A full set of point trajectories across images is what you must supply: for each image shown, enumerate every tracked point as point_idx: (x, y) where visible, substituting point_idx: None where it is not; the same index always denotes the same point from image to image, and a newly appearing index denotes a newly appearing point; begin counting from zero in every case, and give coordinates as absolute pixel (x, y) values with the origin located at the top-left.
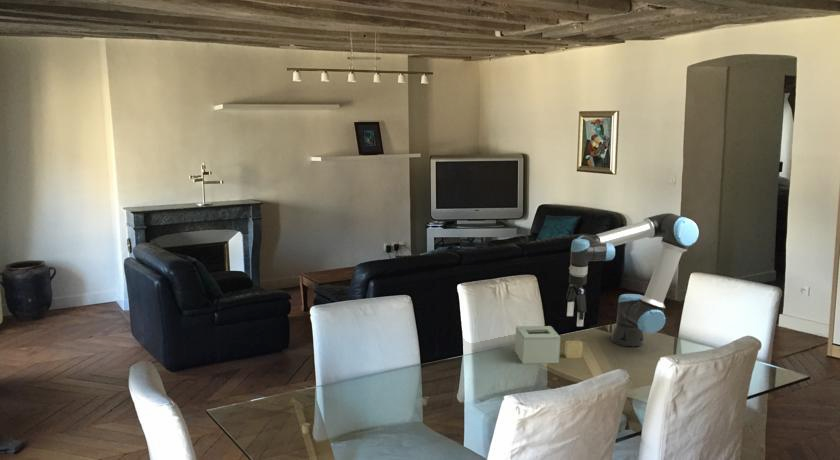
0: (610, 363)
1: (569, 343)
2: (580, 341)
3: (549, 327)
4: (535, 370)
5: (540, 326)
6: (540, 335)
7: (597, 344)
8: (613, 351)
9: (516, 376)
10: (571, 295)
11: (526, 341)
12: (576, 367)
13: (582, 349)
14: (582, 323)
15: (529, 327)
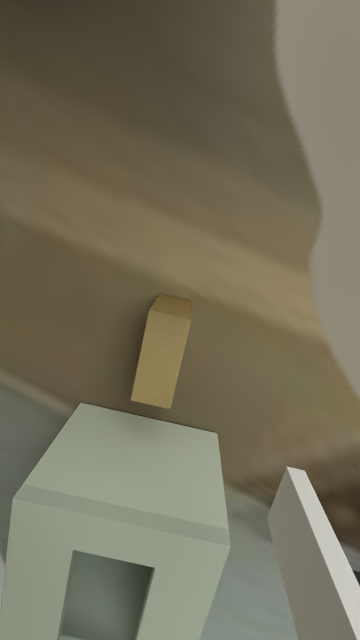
0: (297, 193)
1: (172, 399)
2: (162, 320)
3: (40, 519)
4: (250, 540)
5: (12, 559)
6: (170, 631)
7: (31, 93)
8: (151, 58)
9: (274, 614)
10: None
11: None
12: (280, 383)
13: (191, 310)
14: (313, 505)
15: (22, 621)
